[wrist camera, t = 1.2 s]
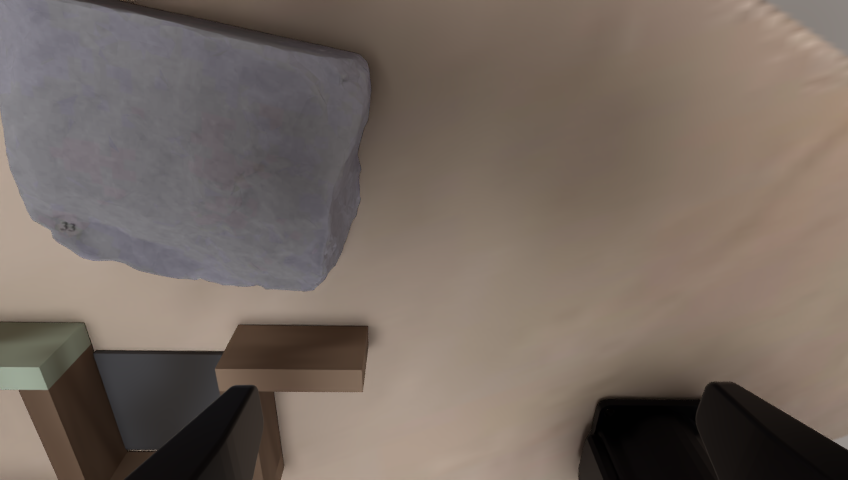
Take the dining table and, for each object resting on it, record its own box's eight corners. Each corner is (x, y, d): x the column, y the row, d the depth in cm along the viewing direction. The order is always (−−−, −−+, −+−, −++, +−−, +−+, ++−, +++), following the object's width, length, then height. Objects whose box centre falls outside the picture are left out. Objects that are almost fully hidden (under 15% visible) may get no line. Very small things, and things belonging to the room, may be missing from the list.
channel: (358, -86, 16) (347, -104, 13) (371, 467, 27) (366, 519, 24) (-367, -117, 15) (-540, -144, 12) (-38, 466, 26) (-89, 520, 23)
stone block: (357, 247, 23) (386, 31, 17) (338, 322, 19) (367, 77, 13) (101, 202, 22) (36, -44, 16) (27, 271, 18) (-92, -17, 12)
